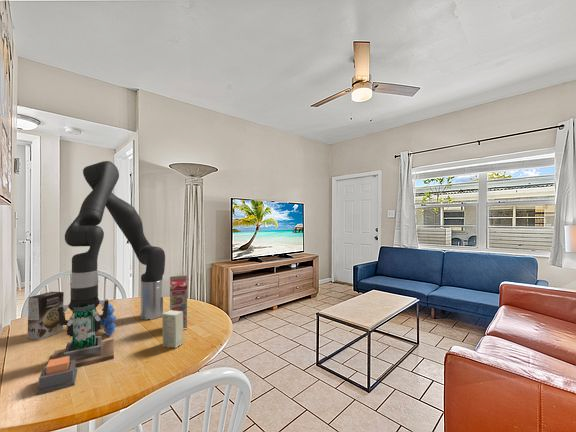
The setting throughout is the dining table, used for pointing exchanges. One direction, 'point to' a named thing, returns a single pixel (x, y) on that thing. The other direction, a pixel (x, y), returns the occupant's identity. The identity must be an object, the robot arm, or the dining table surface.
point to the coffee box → (44, 315)
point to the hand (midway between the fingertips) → (84, 333)
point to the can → (84, 327)
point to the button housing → (57, 379)
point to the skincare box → (172, 328)
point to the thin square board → (88, 353)
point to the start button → (58, 365)
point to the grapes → (109, 321)
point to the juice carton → (179, 296)
